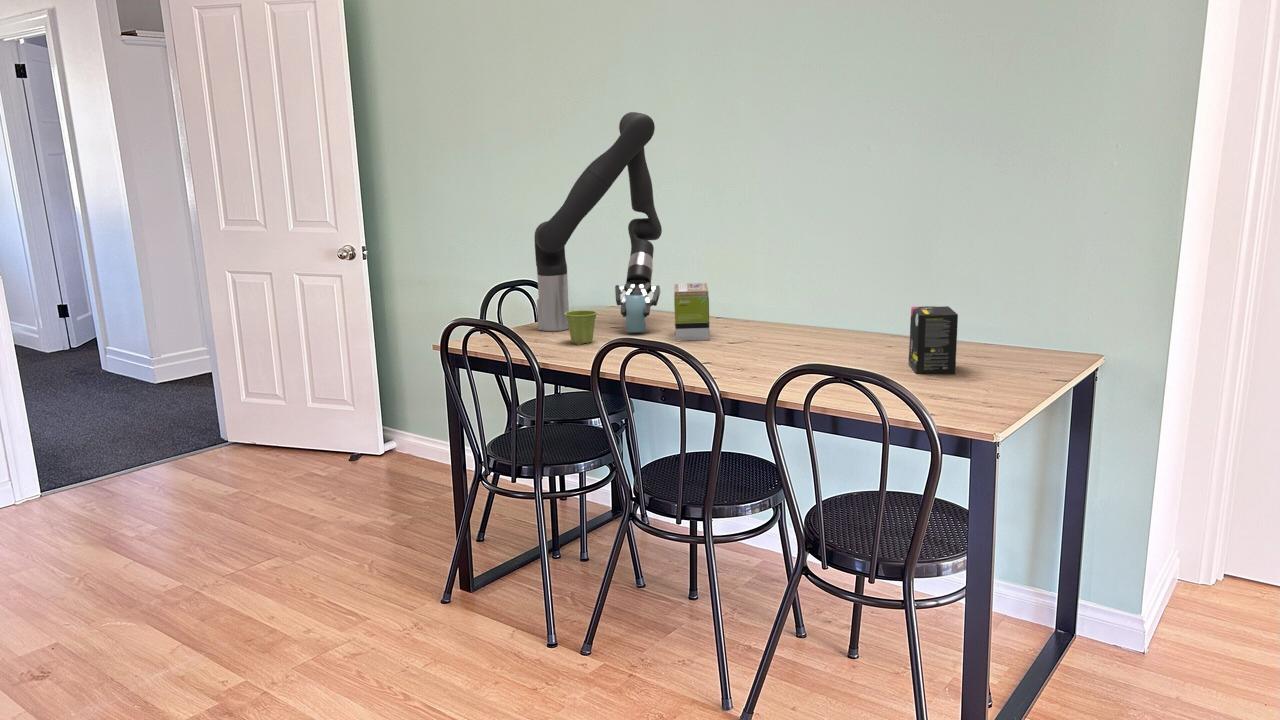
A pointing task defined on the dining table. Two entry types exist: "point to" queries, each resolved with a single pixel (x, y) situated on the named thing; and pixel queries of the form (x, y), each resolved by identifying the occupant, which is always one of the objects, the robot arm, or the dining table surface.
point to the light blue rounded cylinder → (635, 313)
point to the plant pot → (581, 325)
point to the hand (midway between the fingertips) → (634, 315)
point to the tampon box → (933, 340)
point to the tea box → (691, 311)
